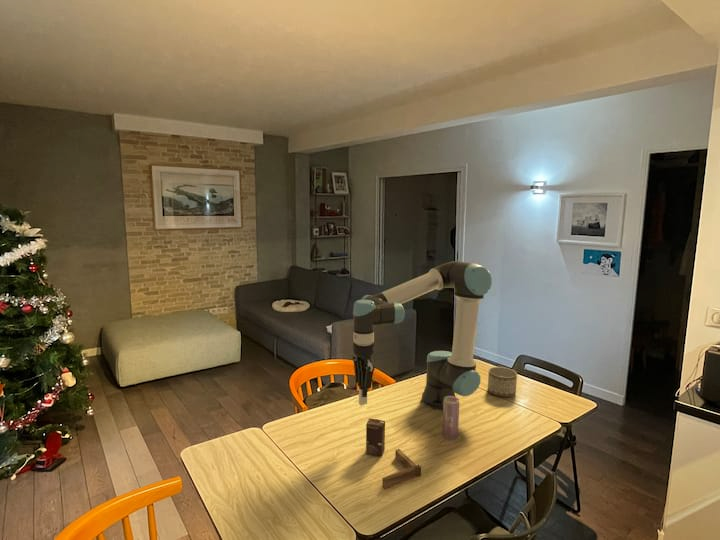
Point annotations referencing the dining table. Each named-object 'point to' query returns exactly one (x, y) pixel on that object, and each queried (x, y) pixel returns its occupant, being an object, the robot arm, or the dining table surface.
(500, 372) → the planter
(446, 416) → the beverage can
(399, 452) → the corner fence
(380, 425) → the box
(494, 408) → the dining table surface
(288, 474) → the dining table surface
